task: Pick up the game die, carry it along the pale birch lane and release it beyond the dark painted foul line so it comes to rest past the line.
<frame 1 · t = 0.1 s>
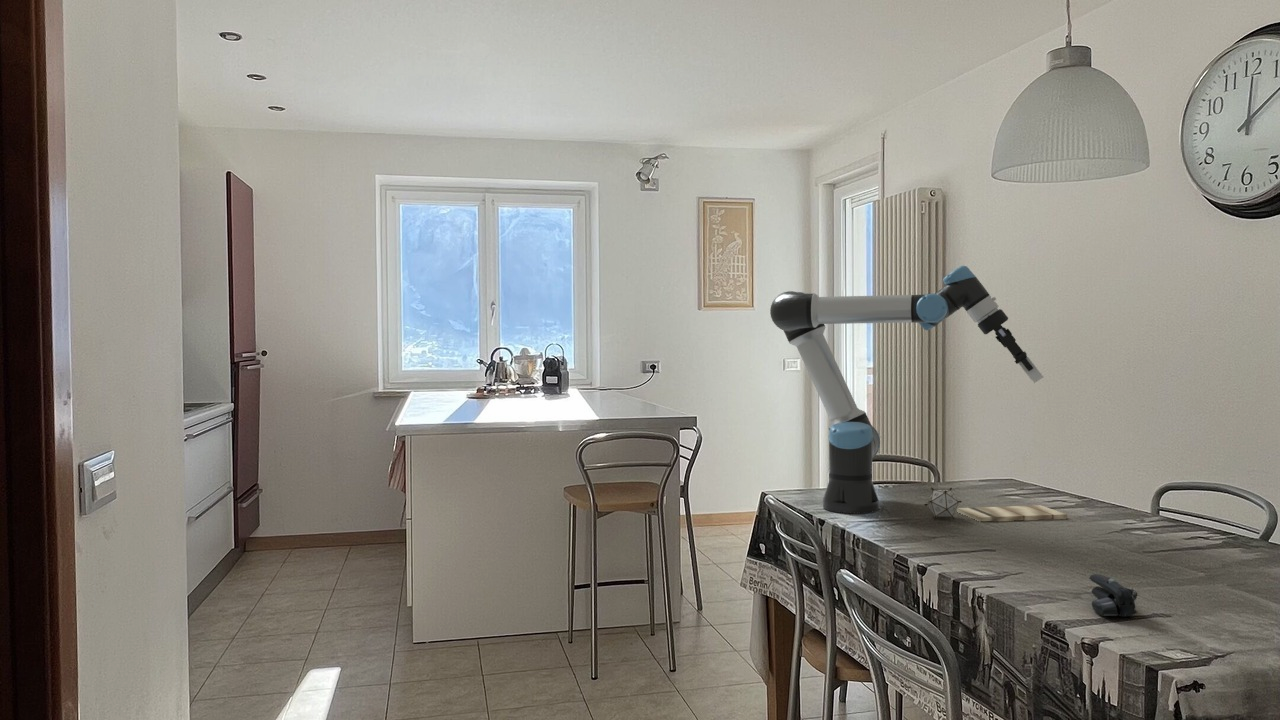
hand: (1037, 378, 234), 36 cm above the table, tool tilted 35°, fingers open, 13 cm apart
game die: (942, 519, 227), on the table
can opener: (1108, 608, 154), on the table
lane: (1011, 515, 230), on the table
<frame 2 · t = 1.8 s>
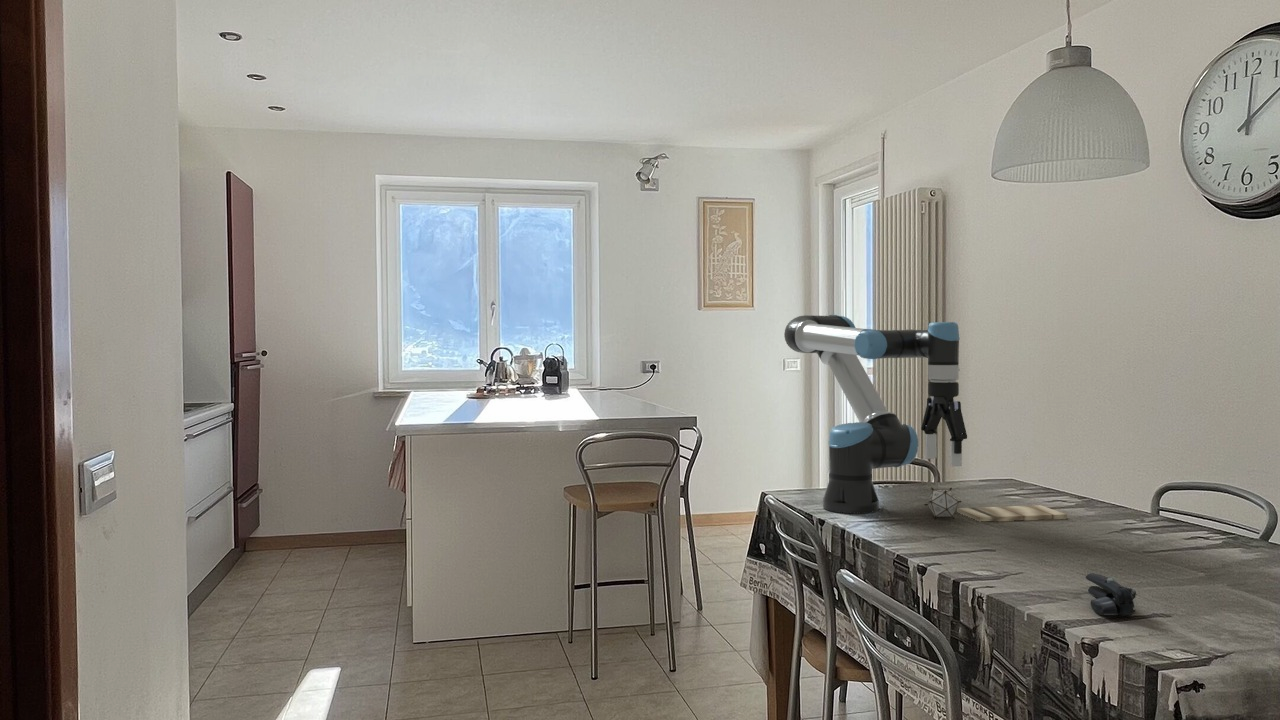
hand: (943, 462, 227), 15 cm above the table, tool pointing down, fingers open, 13 cm apart
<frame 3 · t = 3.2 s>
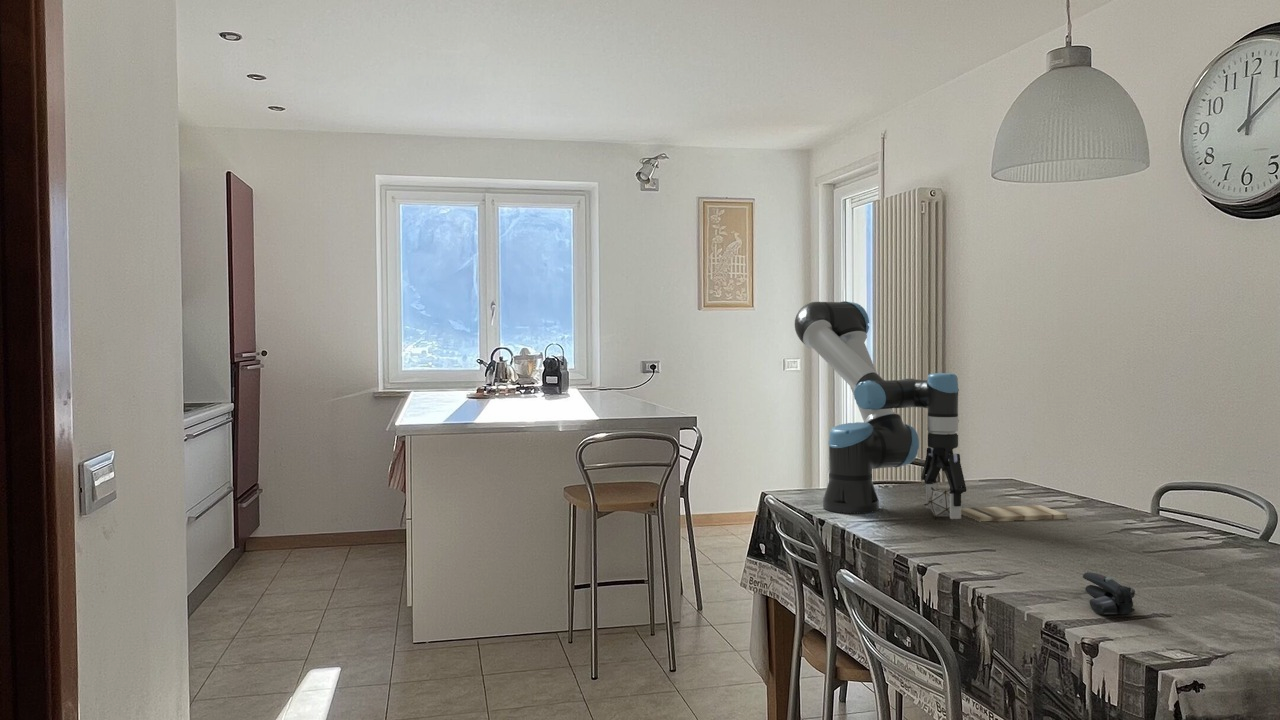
hand: (942, 513, 227), 1 cm above the table, tool pointing down, fingers open, 13 cm apart
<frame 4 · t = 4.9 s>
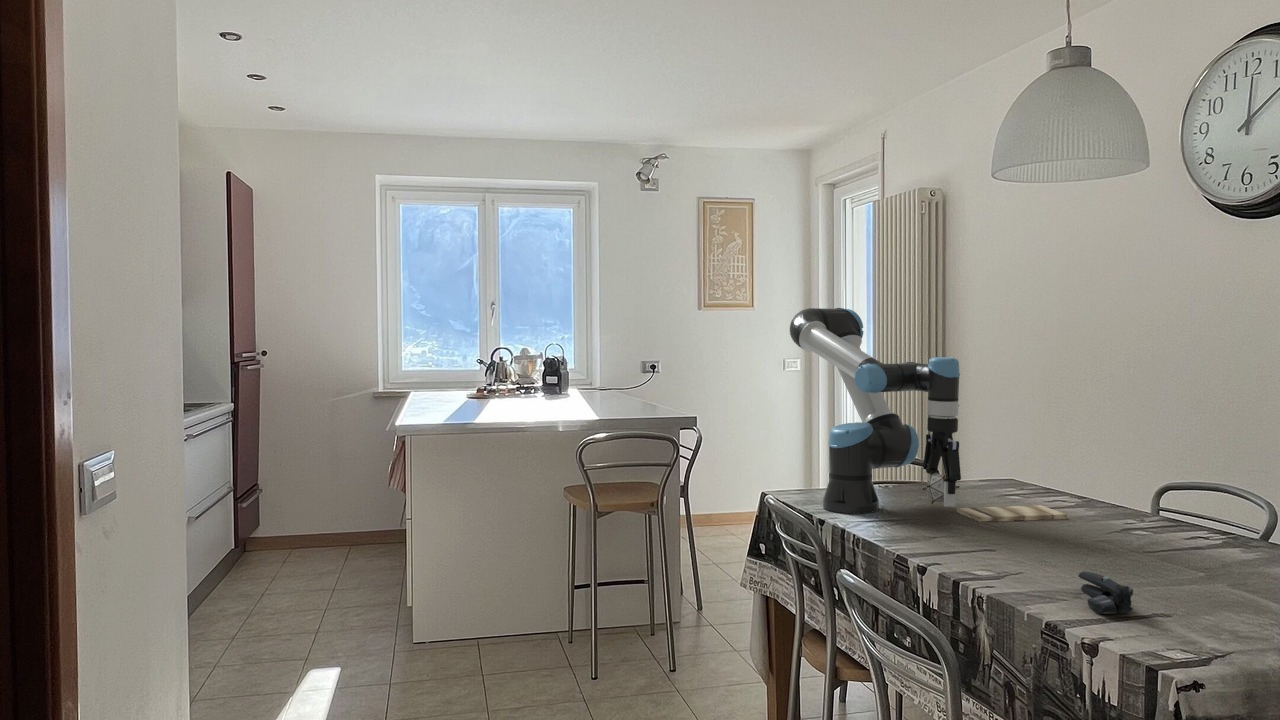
hand: (940, 501, 228), 4 cm above the table, tool pointing down, fingers closed on game die, 9 cm apart
game die: (940, 503, 228), point 4 cm above the table, touching gripper
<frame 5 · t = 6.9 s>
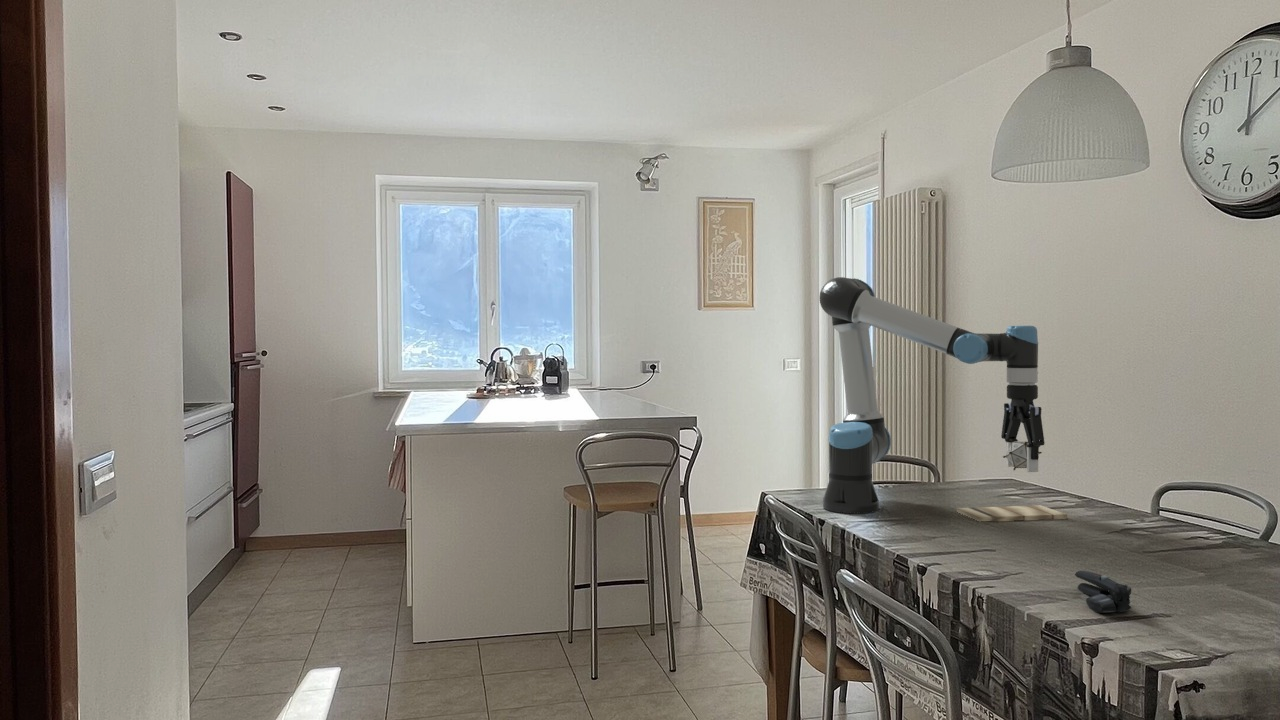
hand: (1022, 469, 229), 12 cm above the table, tool pointing down, fingers closed on game die, 9 cm apart
game die: (1021, 470, 229), point 12 cm above the table, touching gripper
when the fingers open (3 cm above the table, at t = 9.0 s): game die drops 2 cm, resting on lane.
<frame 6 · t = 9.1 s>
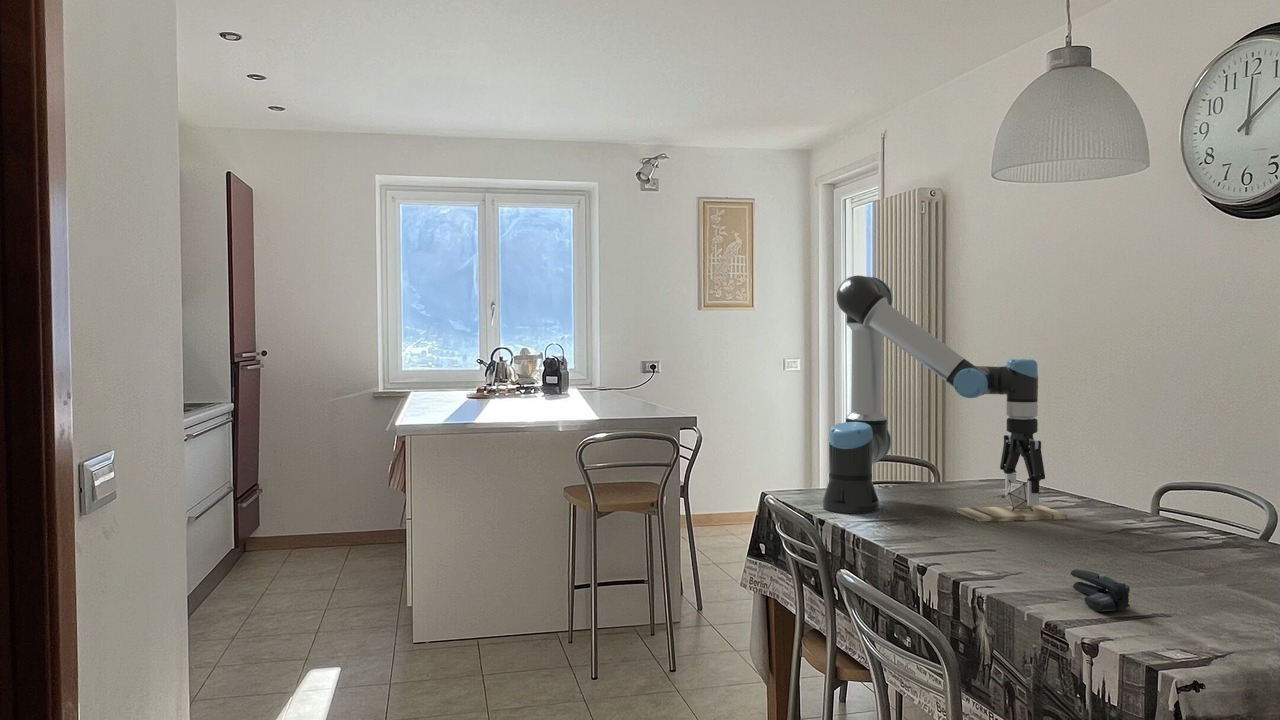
hand: (1021, 501, 230), 4 cm above the table, tool pointing down, fingers open, 10 cm apart
game die: (1020, 511, 230), point 1 cm above the table, touching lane
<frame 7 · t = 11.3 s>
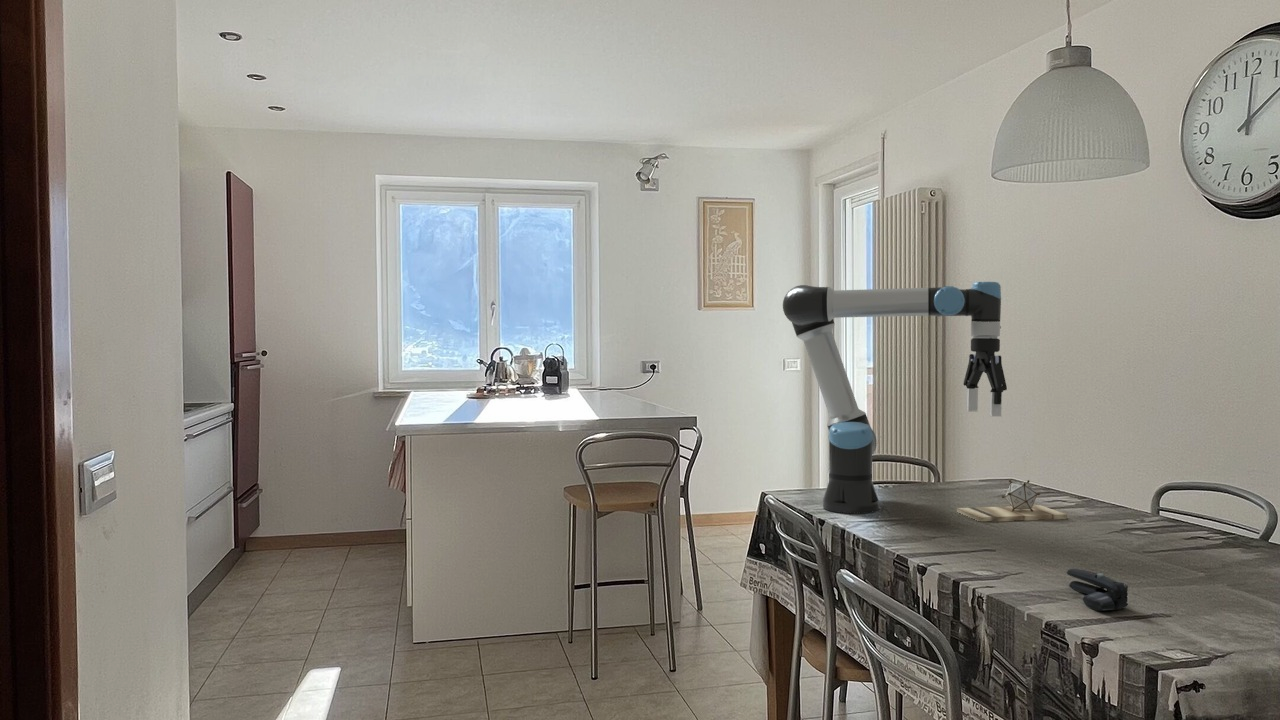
hand: (983, 413, 242), 26 cm above the table, tool pointing down, fingers open, 13 cm apart
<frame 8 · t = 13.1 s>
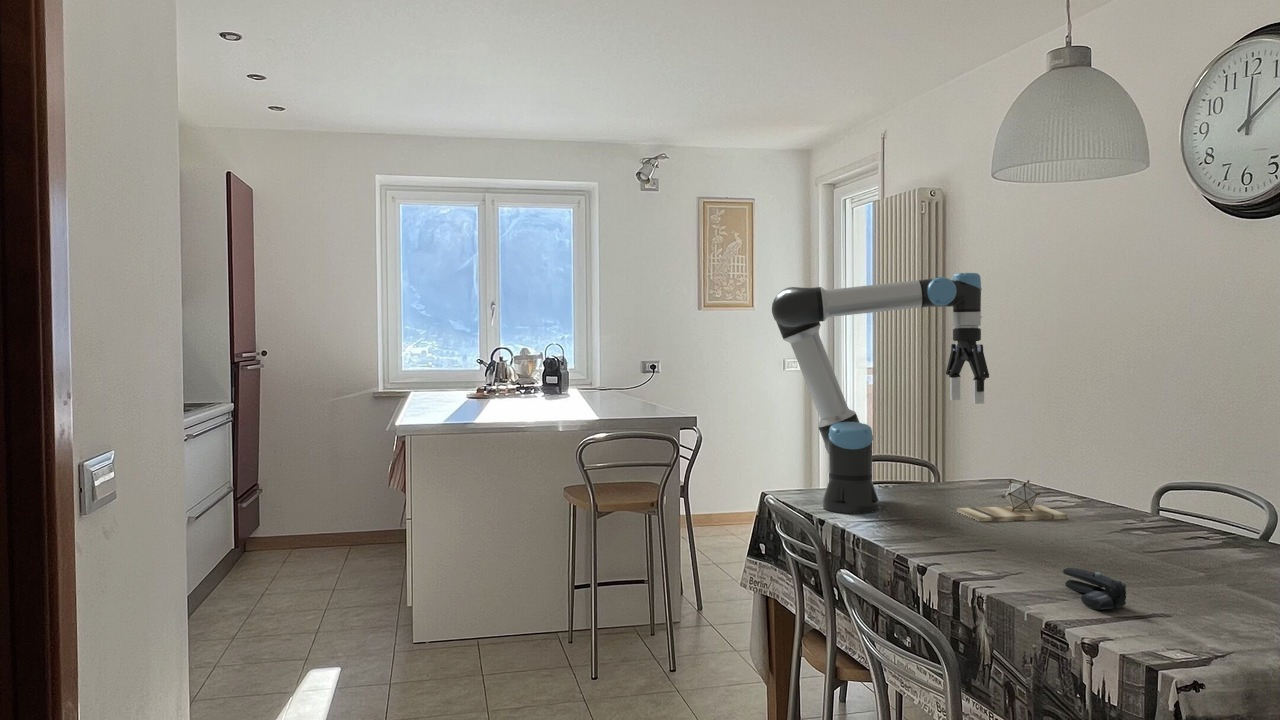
hand: (966, 401, 248), 29 cm above the table, tool pointing down, fingers open, 13 cm apart
at the end: game die inside the target area (6.6 cm from its centre), point 1.0 cm above the table; the gripper is holding nothing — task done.
